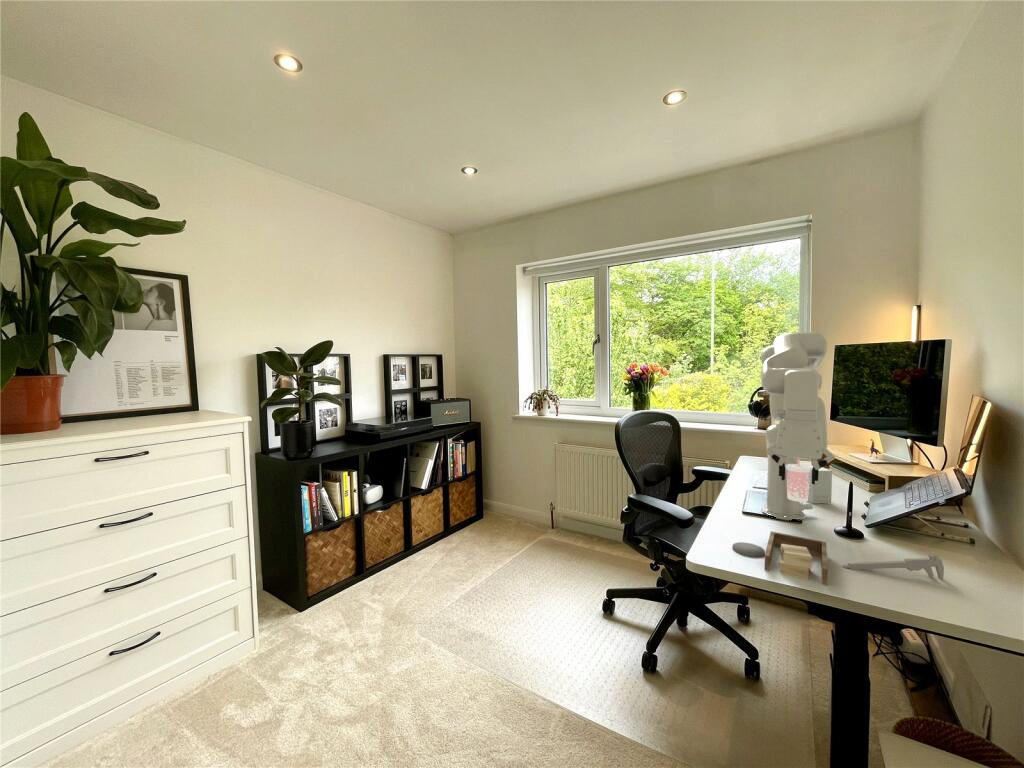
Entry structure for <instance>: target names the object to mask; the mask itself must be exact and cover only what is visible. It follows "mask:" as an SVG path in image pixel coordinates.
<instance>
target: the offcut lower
mask: <svg viewBox="0 0 1024 768" xmlns="http://www.w3.org/2000/svg"><path fill="white" fill-rule="evenodd" d="M810 572H811V568H806V567H799V566H793V565H787V564H785V563H784V561H783V559H782V556H781V558H780V561H779V573H781V574H784V575H788V574H789V575H790V576H792V575H793V577H796V576H797V578H801V579H803V580H804V579H805V580H809V578H810Z"/></svg>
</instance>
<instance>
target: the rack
mask: <svg viewBox="0 0 1024 768" xmlns="http://www.w3.org/2000/svg"><path fill="white" fill-rule="evenodd" d="M781 544H787V545H794V546H801V547H806V548H807V549H808V551H809V553H810V554H811V556H816V557H820V558H821V584H822V585H824V584H826V585H825V586H828V578H829V577H828V576H829V573H828V571H829V568H828V567H829V566H828V552H827V550H828V548H827V541H823V540H817V539H814V538H807V537H803V536H797V535H791V534H787V533H781V532H776V531H770V534H769V537H768V541H767V545H766V549H765V555H764V567H763V568H764V570H763V571H767V572H770V569H771V563H772V558H773V555H774V549H775V548H780V549H781Z"/></svg>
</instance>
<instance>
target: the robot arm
mask: <svg viewBox="0 0 1024 768" xmlns="http://www.w3.org/2000/svg"><path fill="white" fill-rule="evenodd" d="M772 344H773V345H770V346H766V347H765V348H764V349H763V350H762V352H761V364H762V366H761V370H760V376H761V377H760V378H761V385H762V389H763V391H764V392H765V393H767V394H769V412H770V417H771V418H772V420H775V421H778V422H779V423H778V424H772V425H770V426H768V427H767V428H766V429H765V443H766V449H765V453H766V454H767V481H766V482H767V486H766V487H767V488H766V505H764V506H762V507H761V511H762V510H763V511H764V512H766V513H768V514H771V515H772V516H774V517H776V518H775V519H777V520H783V521H789V520H790V521H791V520H792V519H800V520H799V521H802V520H804V519H805V516H806V515H805V513H804V512H803V511H805V510H813V504H812V503H804V502H797V501H793V500H790V499H788V498H787V476H786V469H785V465H787V464H798V459H800V460H809V461H811V463H812V466H813V468H812V484H814V485H815V481H818V472H819V469H820V468H824V467H825V466H826V465H827V464H829V463H830V462H832V461H833V460H835V457H836V456H835V455H834V454H833V453H832V452H831V451H830V450H828V427H827V414H826V413H827V412H826V406H825V402H824V400H823V399H822V398H821V397H819V395H818V394H819V390H821V388H822V383H823V381H822V378H823V377H822V374H820V373H819V371H818V370H817V369H815V368H818V367H820V364H821V363H822V361H823V360H824V359H825V356H826V354H827V352H828V342H827V338H826V336H825V334H824V335H823V334H822V333H820V332H817V331H807V332H805V331H804V332H788V333H787V332H786V333H783V334H780V335H778V336H777V337H776V338H775V339H774V341H773V343H772ZM823 455H825V457H824V458H823V459H822V457H823ZM765 506H767V507H765ZM784 516H786V517H784ZM791 522H792V521H791Z"/></svg>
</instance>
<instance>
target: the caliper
mask: <svg viewBox="0 0 1024 768" xmlns="http://www.w3.org/2000/svg"><path fill="white" fill-rule="evenodd" d="M927 554H928V558H927V557H922V558H921V557H919V558H917V557H915V558H904V560H889V561H887V560H886V561H859V562H847V564H843V565H842V567H843V568H844V569H850V570H858V571H859V570H860V571H861V570H882V569H883V570H886V569H907V570H908V572H913V571H921V570H924V571H925V572H926V575H927V576H928V577H929V578H930V579H935V577H934V576H935V574H934V572H933V568H935V571H936V574H937V578H938V579H939V580H943V579H944V574H945V573H944V572H945V571H944V569H945V567H944V564H943V560H942V559H941V558H940V557H938V555H937V554H936V553H933V555H931V554H930V553H927Z"/></svg>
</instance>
